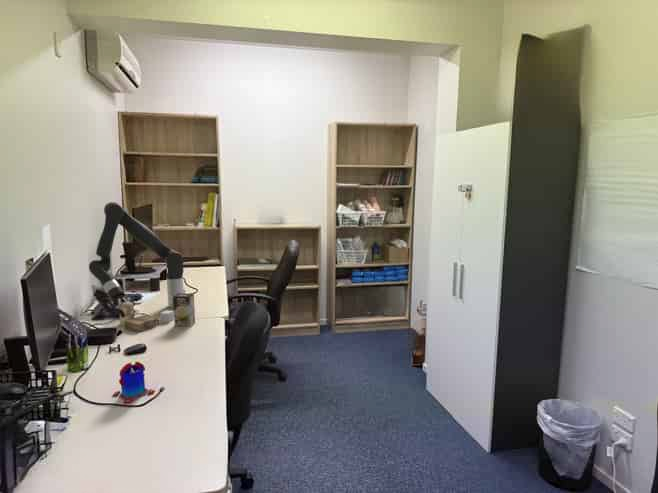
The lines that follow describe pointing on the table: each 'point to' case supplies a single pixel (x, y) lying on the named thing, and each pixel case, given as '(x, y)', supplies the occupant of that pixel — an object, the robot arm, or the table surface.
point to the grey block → (167, 316)
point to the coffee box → (184, 309)
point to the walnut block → (140, 323)
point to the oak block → (127, 311)
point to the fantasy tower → (132, 383)
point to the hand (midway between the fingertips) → (129, 315)
